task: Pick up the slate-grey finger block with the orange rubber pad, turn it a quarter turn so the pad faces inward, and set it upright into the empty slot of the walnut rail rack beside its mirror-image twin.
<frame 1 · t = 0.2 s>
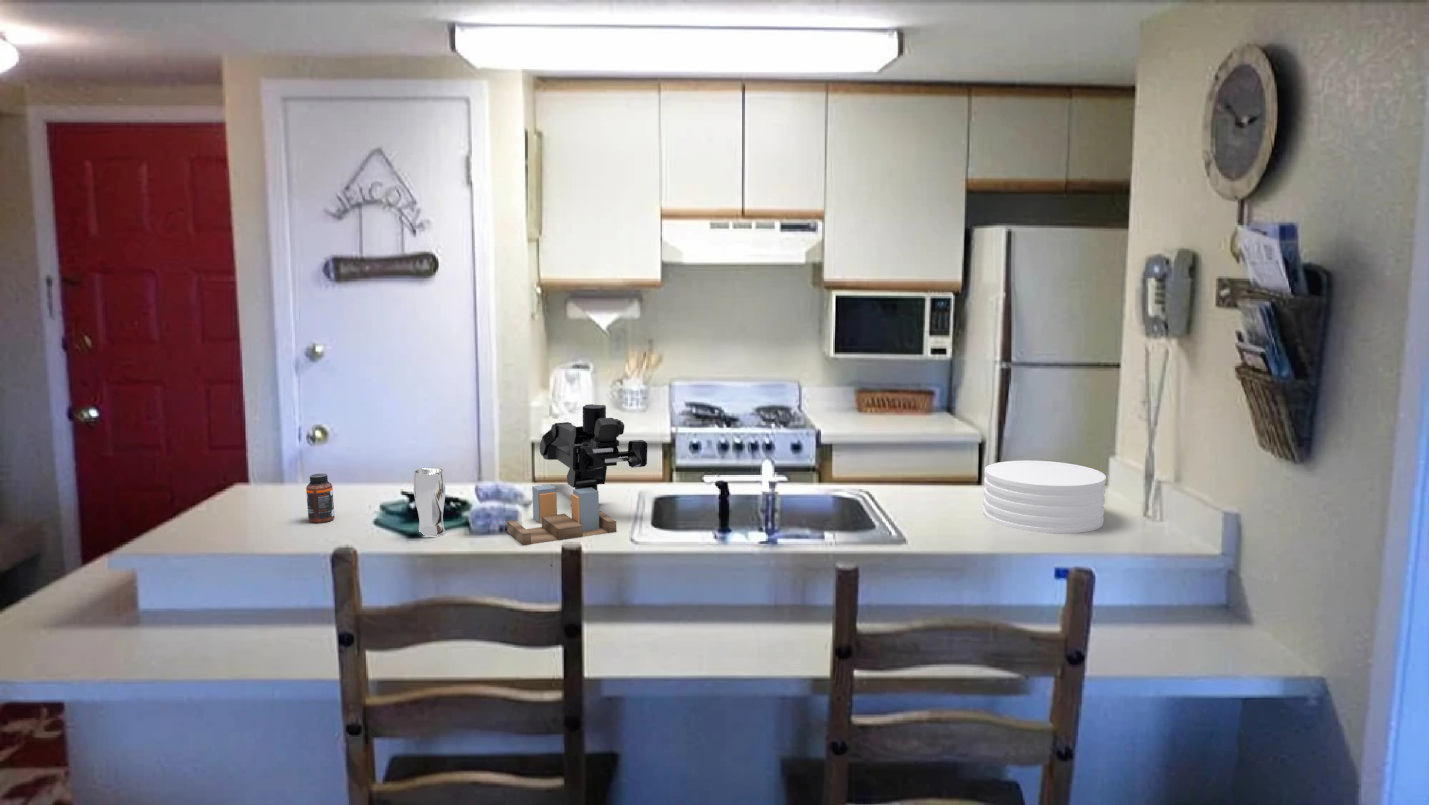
hand: (622, 463, 224), 16 cm above the countertop, tool horizontal, fingers open, 9 cm apart
finger block 1: (545, 523, 234), on the countertop
supplement bottle: (321, 521, 238), on the countertop
rail rack: (562, 535, 224), on the countertop
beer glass: (431, 534, 226), on the countertop
finger block 2: (586, 528, 227), point 1 cm above the countertop, touching rail rack
plate stack: (1041, 518, 239), on the countertop
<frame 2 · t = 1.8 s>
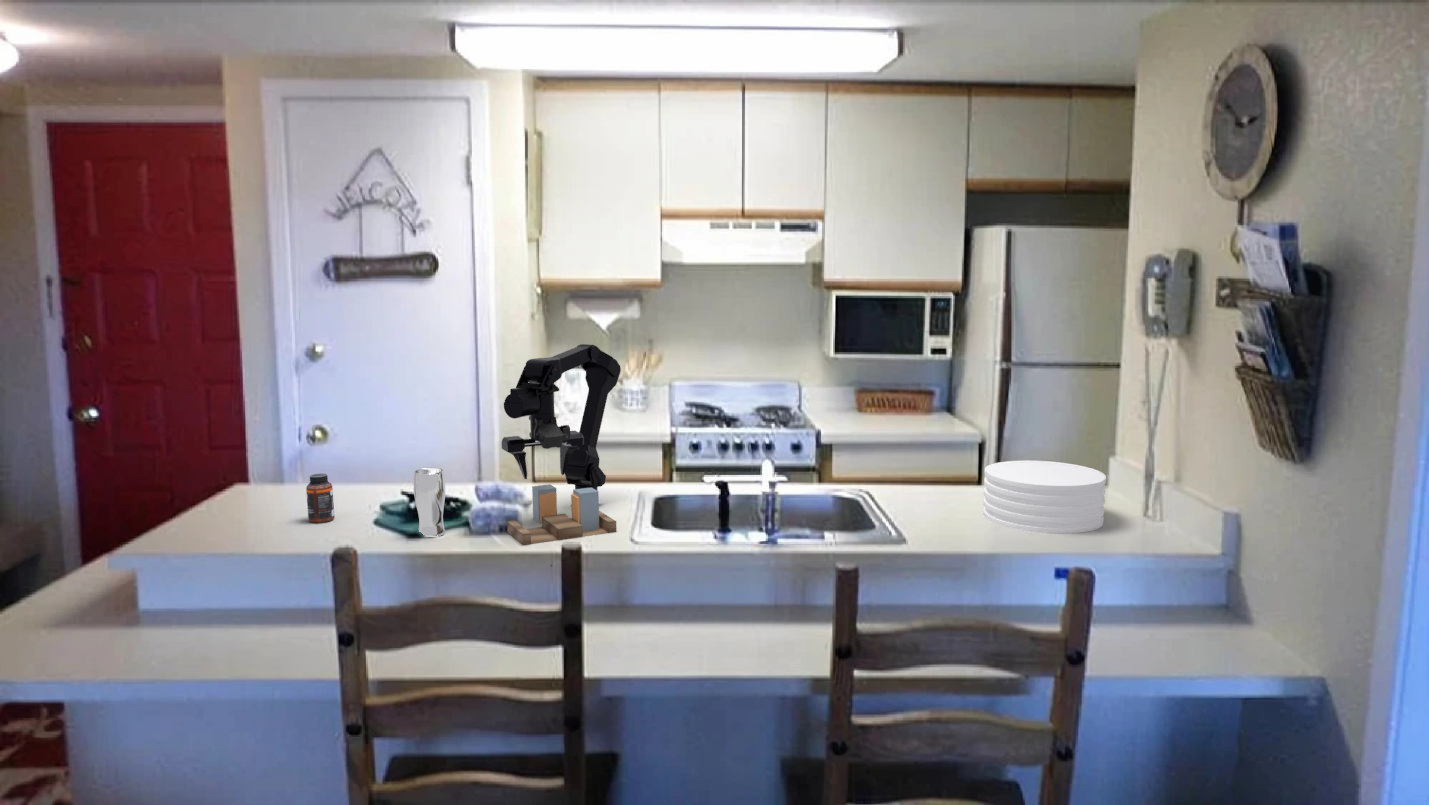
hand: (544, 476, 233), 11 cm above the countertop, tool pointing down, fingers open, 9 cm apart
nothing on the countertop moved.
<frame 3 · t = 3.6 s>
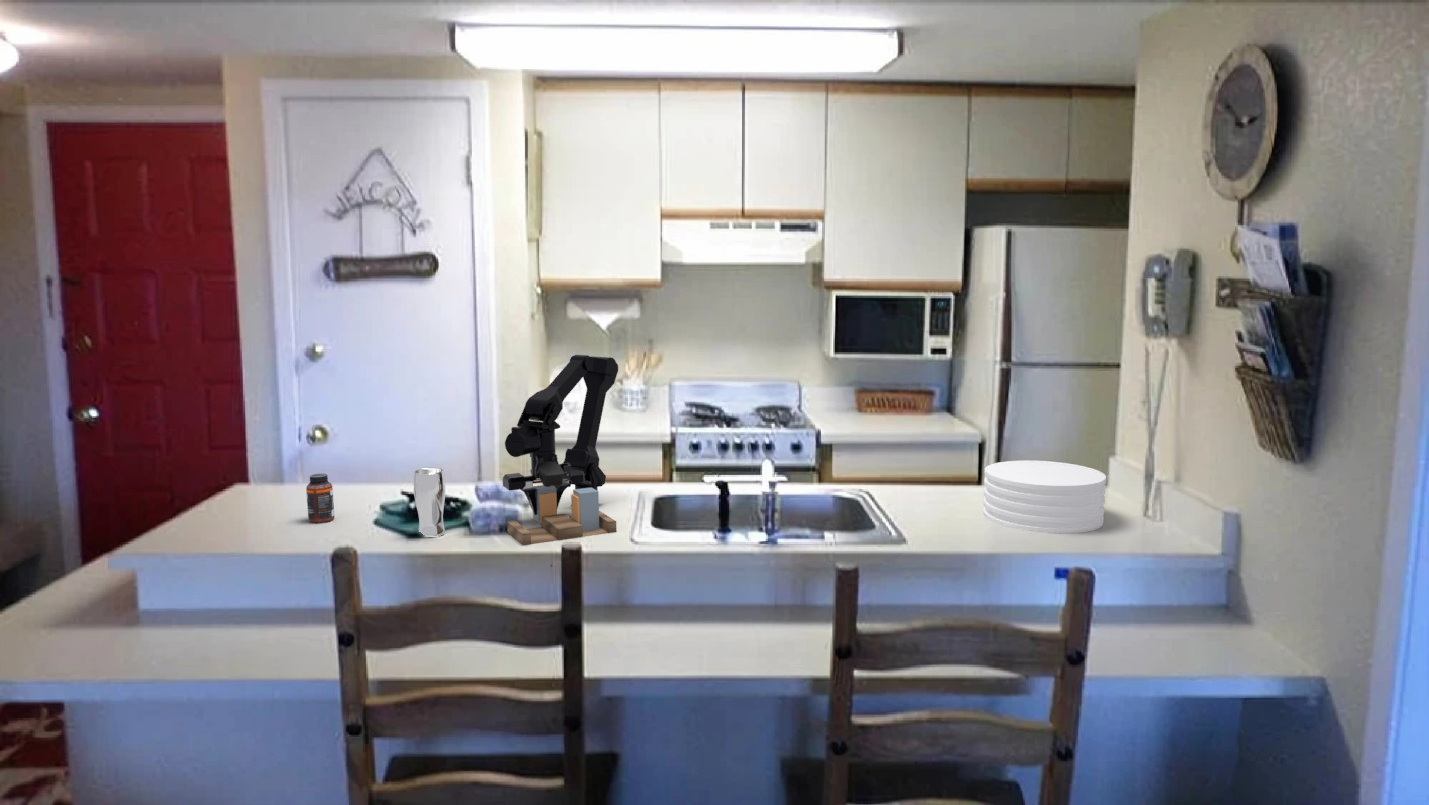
hand: (545, 513, 234), 3 cm above the countertop, tool pointing down, fingers closed on finger block 1, 4 cm apart
finger block 1: (545, 523, 234), on the countertop, touching gripper
everything else where it was.
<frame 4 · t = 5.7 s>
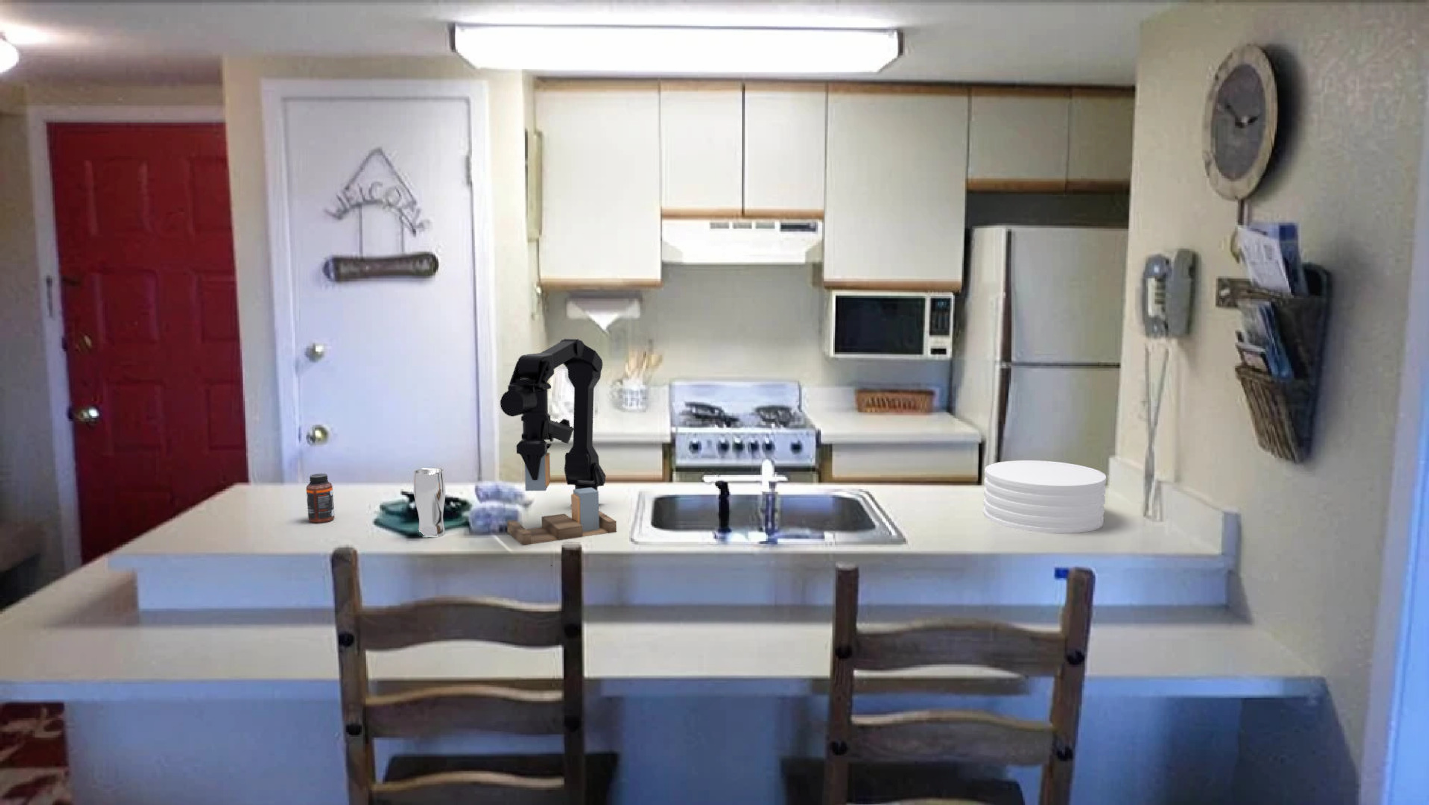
hand: (536, 477, 223), 13 cm above the countertop, tool pointing down, fingers closed on finger block 1, 4 cm apart
finger block 1: (536, 488, 224), point 11 cm above the countertop, touching gripper
everything else where it was.
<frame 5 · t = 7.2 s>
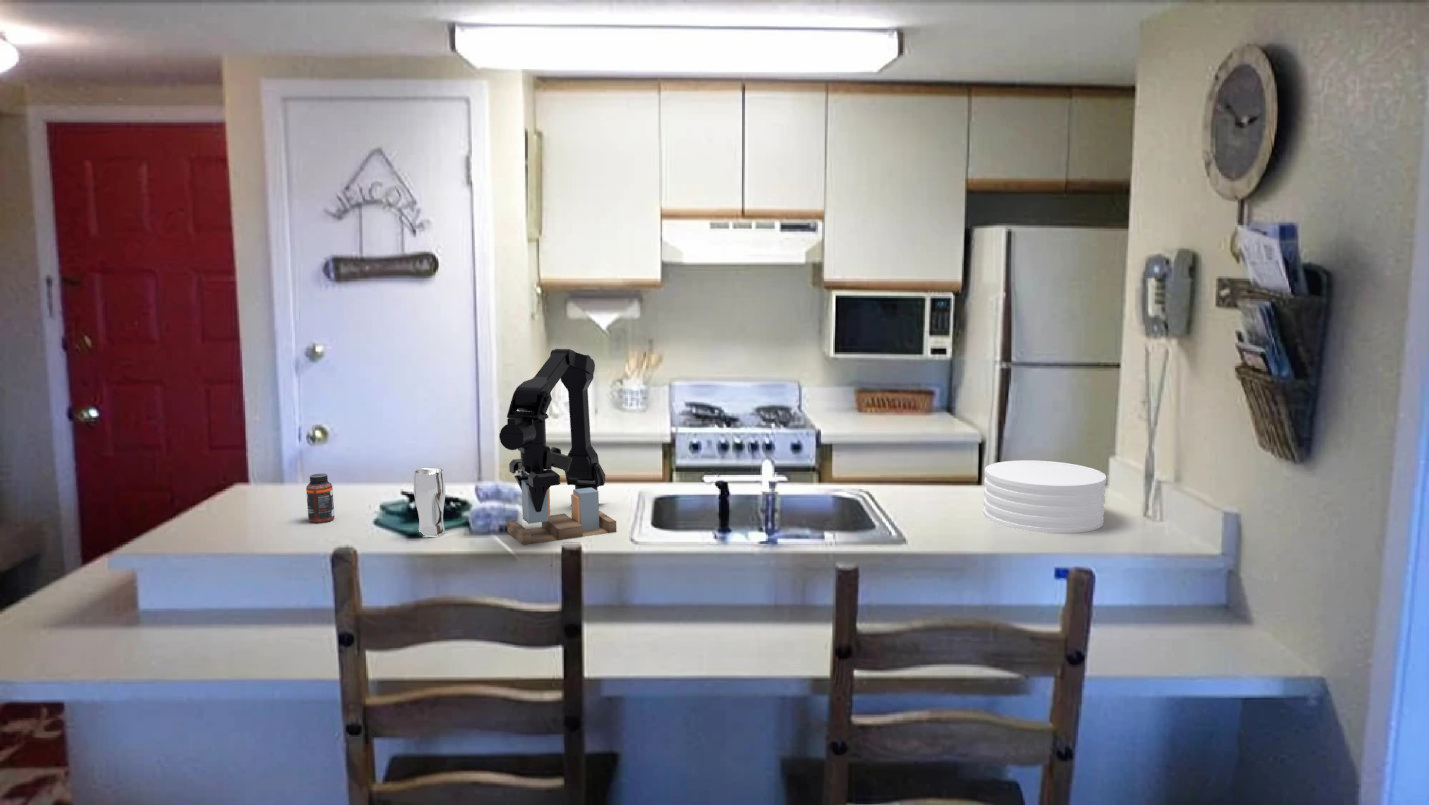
hand: (535, 509, 220), 7 cm above the countertop, tool pointing down, fingers closed on finger block 1, 4 cm apart
finger block 1: (535, 520, 220), point 5 cm above the countertop, touching gripper
everything else where it was.
when the fingers open (4 cm above the countertop, at t = 8.1 s): finger block 1 stays where it is, resting on rail rack.
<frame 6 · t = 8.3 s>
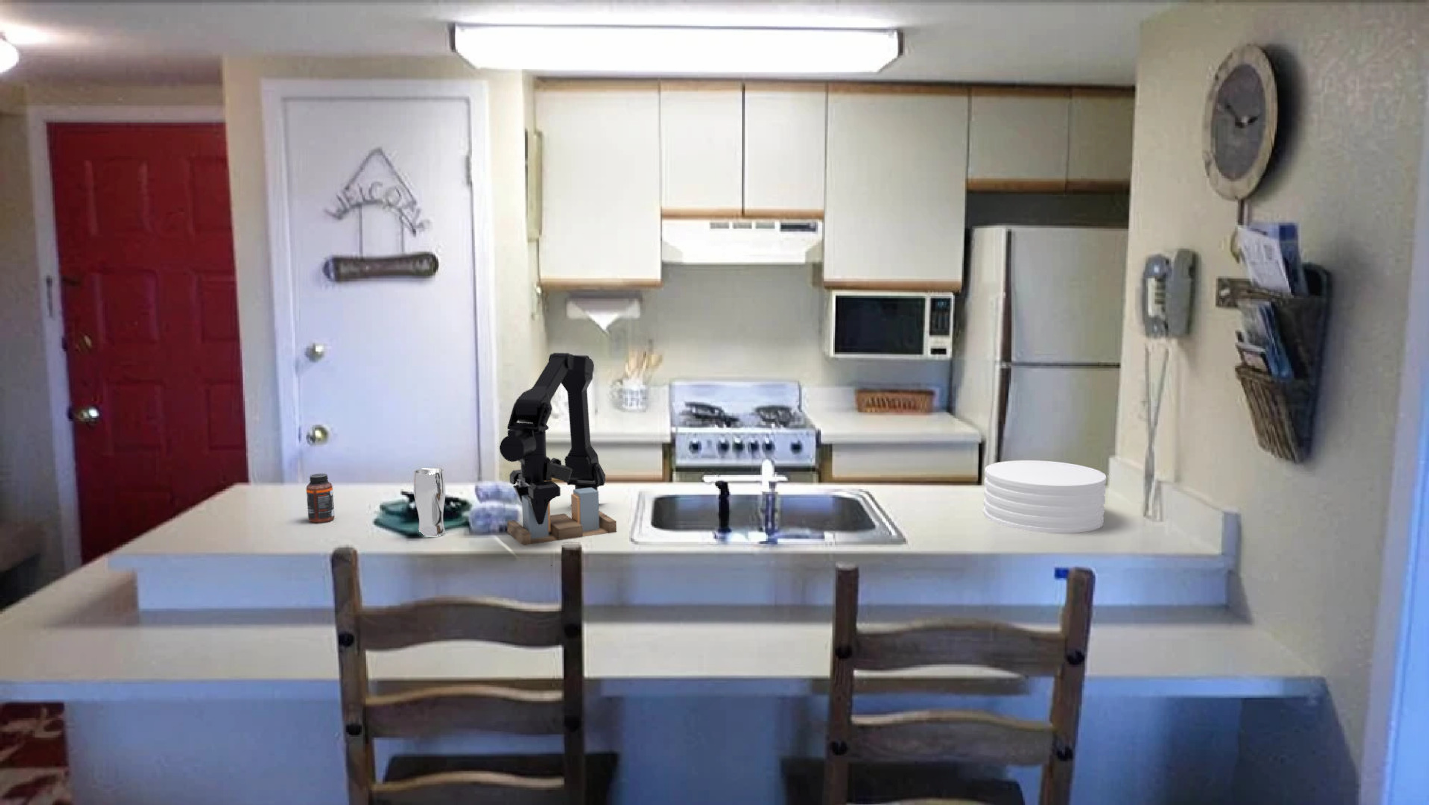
hand: (535, 520, 220), 4 cm above the countertop, tool pointing down, fingers open, 7 cm apart
finger block 1: (535, 535, 221), point 1 cm above the countertop, touching rail rack
everything else where it was.
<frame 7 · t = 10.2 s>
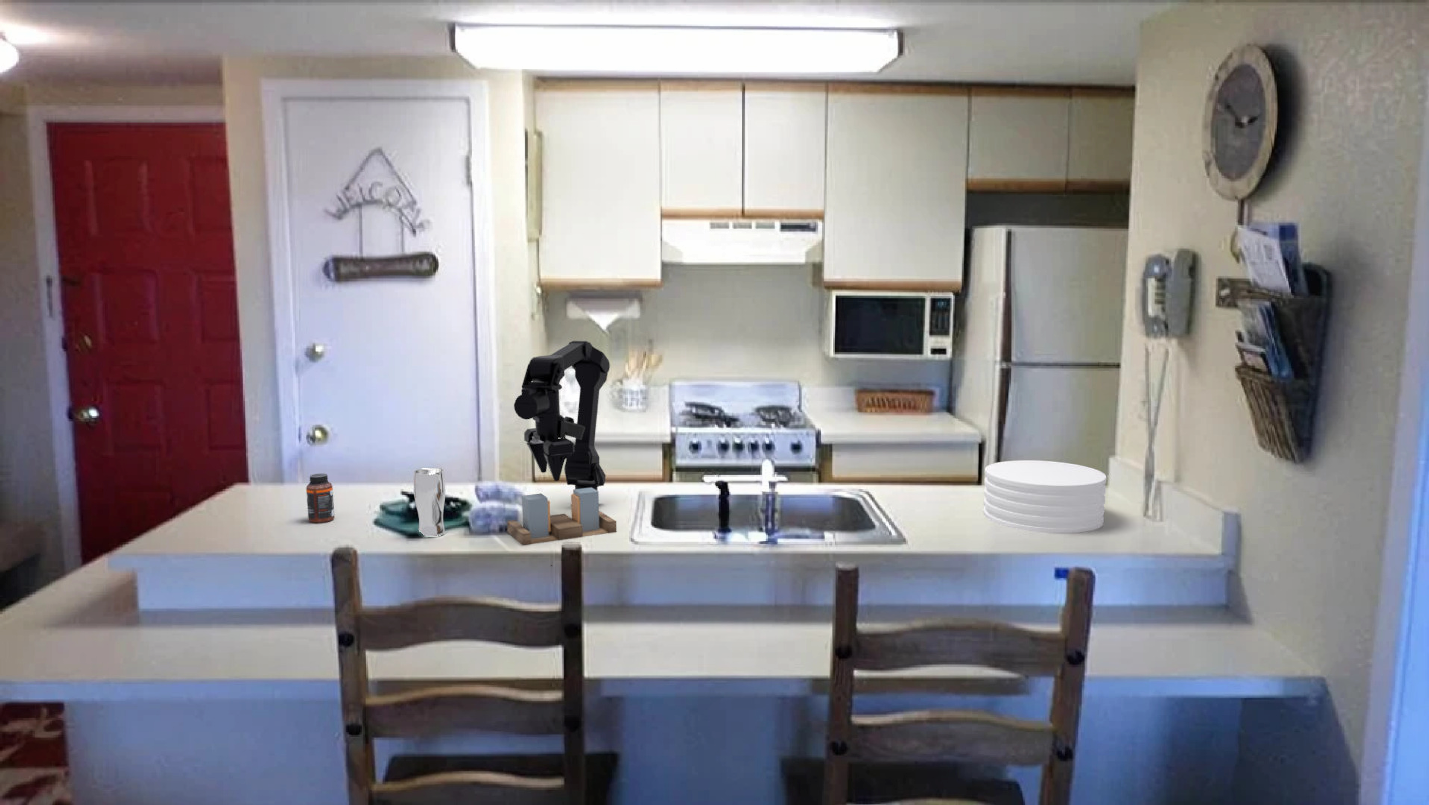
hand: (550, 476, 229), 12 cm above the countertop, tool pointing down, fingers open, 9 cm apart
nothing on the countertop moved.
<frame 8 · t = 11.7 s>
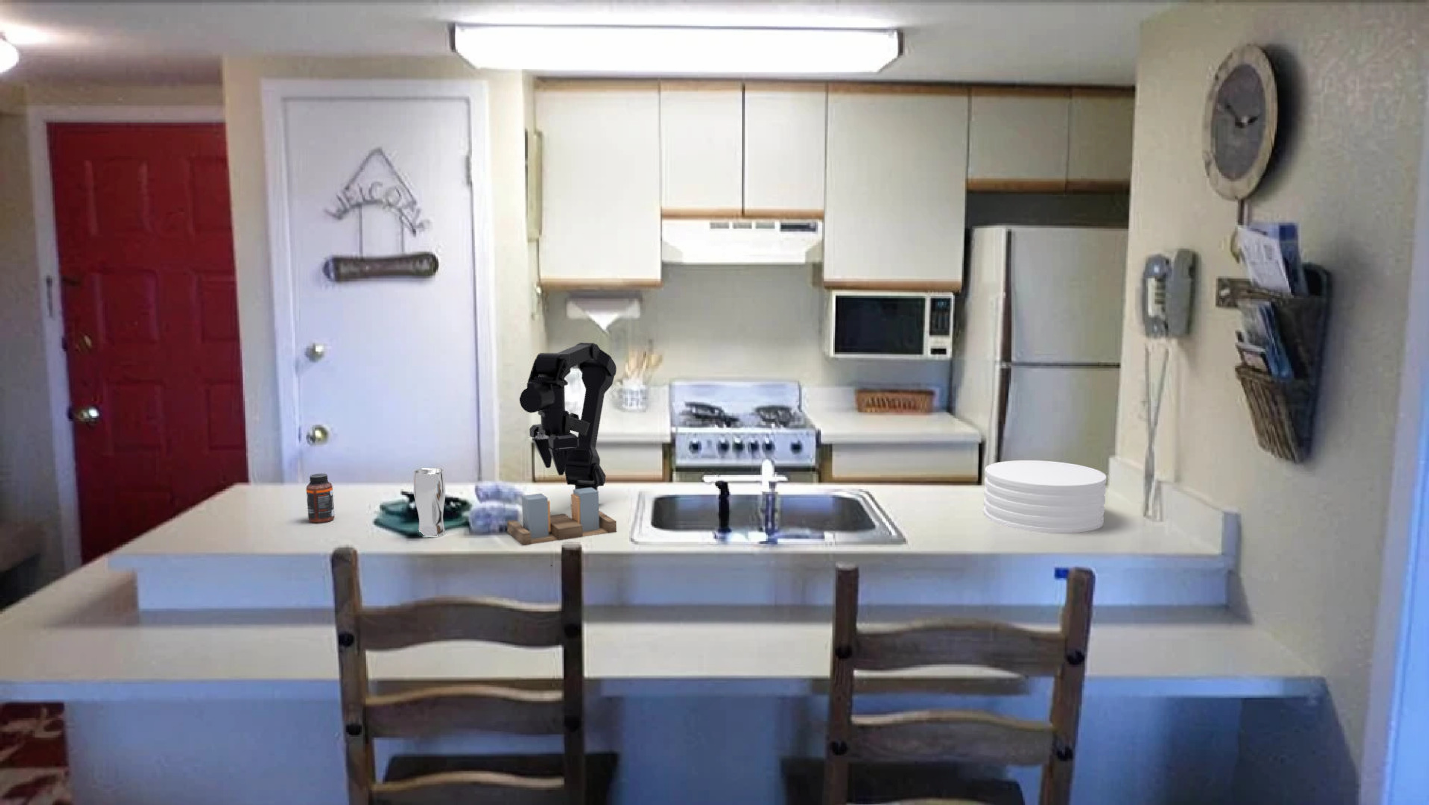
hand: (554, 471, 232), 13 cm above the countertop, tool pointing down, fingers open, 9 cm apart
nothing on the countertop moved.
at the end: finger block 1 0.0 cm from the target spot on the rail rack, point 1.0 cm above the rail rack's base; finger block 1 tilted 0°; the gripper is holding nothing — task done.
